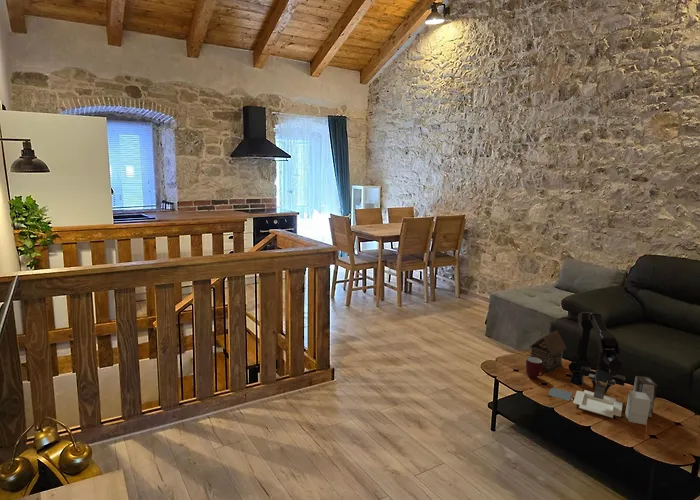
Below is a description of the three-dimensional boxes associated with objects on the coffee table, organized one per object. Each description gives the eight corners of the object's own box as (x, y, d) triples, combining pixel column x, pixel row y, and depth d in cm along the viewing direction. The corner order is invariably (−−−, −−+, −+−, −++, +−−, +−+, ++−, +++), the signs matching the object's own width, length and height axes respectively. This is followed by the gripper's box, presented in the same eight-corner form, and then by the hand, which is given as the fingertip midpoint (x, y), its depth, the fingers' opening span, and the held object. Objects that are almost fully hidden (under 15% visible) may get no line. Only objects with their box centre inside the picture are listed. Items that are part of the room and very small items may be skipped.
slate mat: (551, 388, 243) (551, 387, 243) (572, 394, 238) (572, 392, 238) (547, 395, 235) (548, 394, 235) (569, 402, 230) (569, 400, 229)
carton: (577, 392, 240) (577, 388, 239) (622, 404, 229) (622, 400, 229) (571, 409, 222) (572, 405, 222) (619, 424, 212) (620, 419, 211)
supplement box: (642, 417, 218) (646, 393, 216) (646, 426, 211) (651, 400, 209) (624, 414, 220) (628, 389, 218) (628, 422, 213) (632, 397, 211)
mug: (547, 380, 252) (549, 362, 250) (538, 383, 248) (541, 366, 246) (529, 372, 261) (531, 355, 259) (521, 375, 256) (523, 358, 254)
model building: (550, 374, 259) (554, 340, 255) (525, 365, 270) (529, 332, 266) (564, 366, 271) (569, 333, 267) (541, 357, 282) (545, 326, 278)
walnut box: (595, 390, 229) (597, 379, 228) (604, 392, 227) (606, 381, 226) (593, 397, 222) (595, 385, 221) (603, 399, 220) (605, 387, 219)
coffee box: (652, 417, 219) (658, 385, 216) (637, 415, 220) (642, 383, 217) (644, 407, 228) (649, 377, 225) (629, 405, 229) (635, 375, 226)
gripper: (580, 362, 219) (576, 392, 222) (626, 373, 210) (620, 405, 213) (583, 354, 229) (579, 383, 232) (627, 364, 219) (622, 395, 222)
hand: (599, 392), depth 224 cm, fingers closed on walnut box, 4 cm apart
